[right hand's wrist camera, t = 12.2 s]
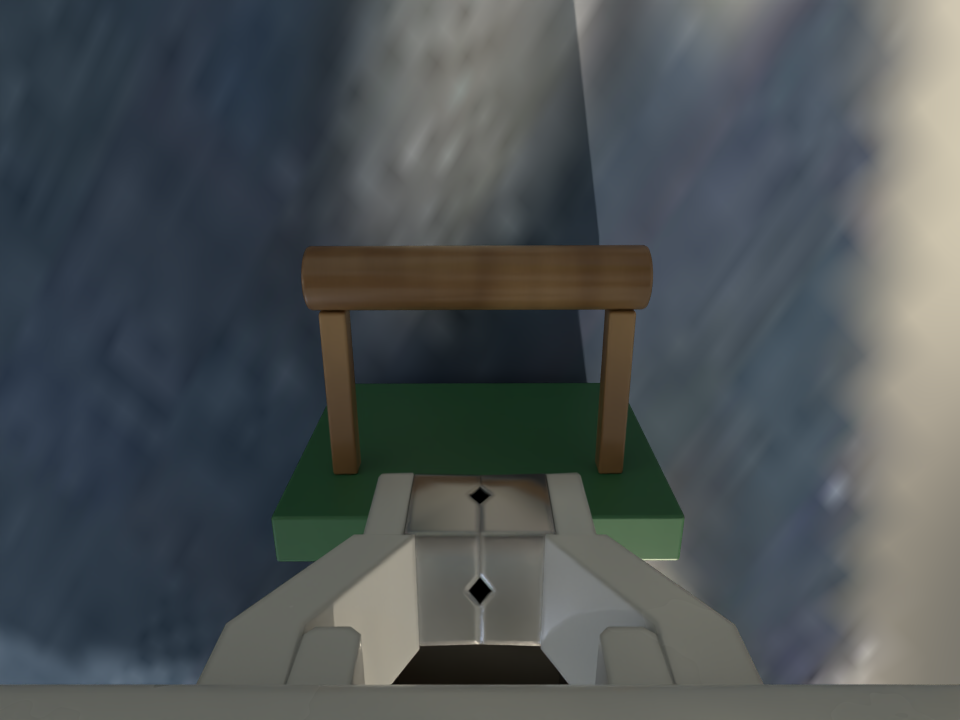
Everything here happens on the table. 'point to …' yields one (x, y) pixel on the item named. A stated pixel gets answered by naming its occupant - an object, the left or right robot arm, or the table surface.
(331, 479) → the drawer
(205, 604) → the table surface
